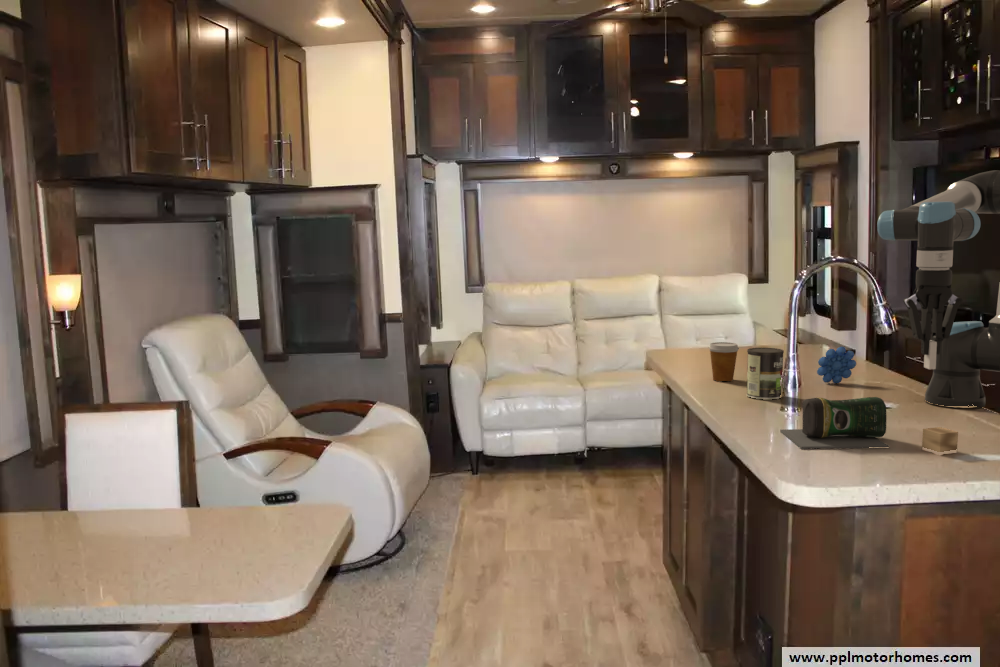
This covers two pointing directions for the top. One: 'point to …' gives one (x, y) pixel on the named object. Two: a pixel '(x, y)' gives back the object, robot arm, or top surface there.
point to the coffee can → (764, 373)
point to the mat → (831, 440)
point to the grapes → (836, 365)
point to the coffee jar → (844, 417)
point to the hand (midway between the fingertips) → (929, 368)
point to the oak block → (939, 439)
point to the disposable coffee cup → (723, 360)
